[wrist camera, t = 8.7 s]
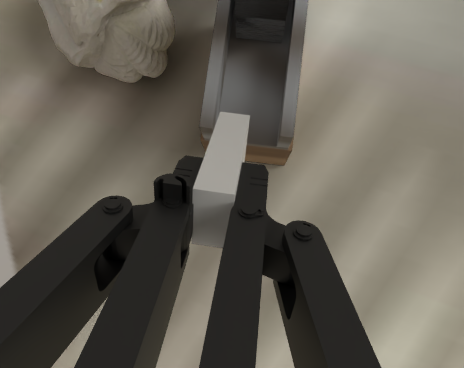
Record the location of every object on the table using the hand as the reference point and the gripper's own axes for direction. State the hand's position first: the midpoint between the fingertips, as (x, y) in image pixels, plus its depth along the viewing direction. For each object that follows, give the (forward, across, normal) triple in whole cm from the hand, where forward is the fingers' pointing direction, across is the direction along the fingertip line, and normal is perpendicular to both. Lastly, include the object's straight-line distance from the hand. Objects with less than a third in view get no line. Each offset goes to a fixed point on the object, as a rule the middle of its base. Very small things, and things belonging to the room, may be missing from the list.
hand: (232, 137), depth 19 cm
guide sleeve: (+13, 0, -3) cm, 13 cm away
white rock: (+16, -12, 0) cm, 20 cm away
